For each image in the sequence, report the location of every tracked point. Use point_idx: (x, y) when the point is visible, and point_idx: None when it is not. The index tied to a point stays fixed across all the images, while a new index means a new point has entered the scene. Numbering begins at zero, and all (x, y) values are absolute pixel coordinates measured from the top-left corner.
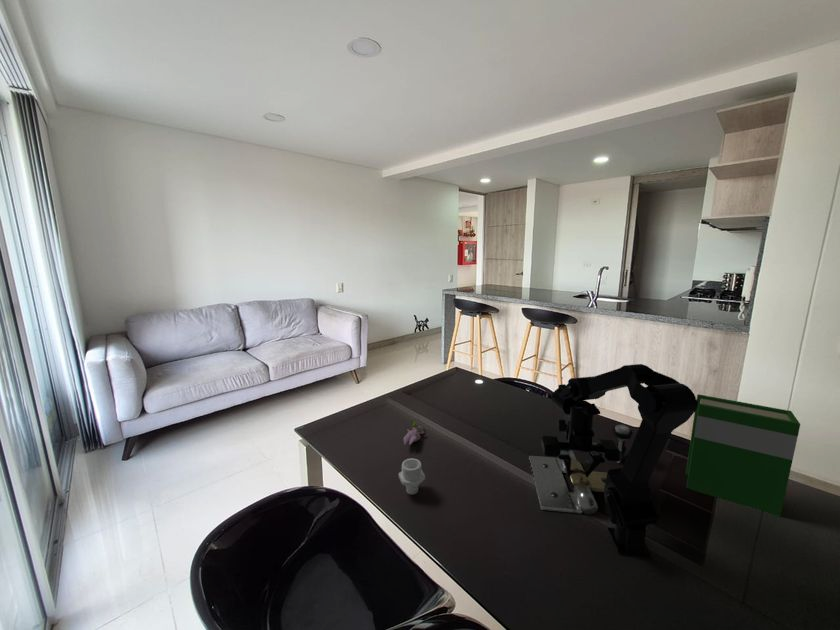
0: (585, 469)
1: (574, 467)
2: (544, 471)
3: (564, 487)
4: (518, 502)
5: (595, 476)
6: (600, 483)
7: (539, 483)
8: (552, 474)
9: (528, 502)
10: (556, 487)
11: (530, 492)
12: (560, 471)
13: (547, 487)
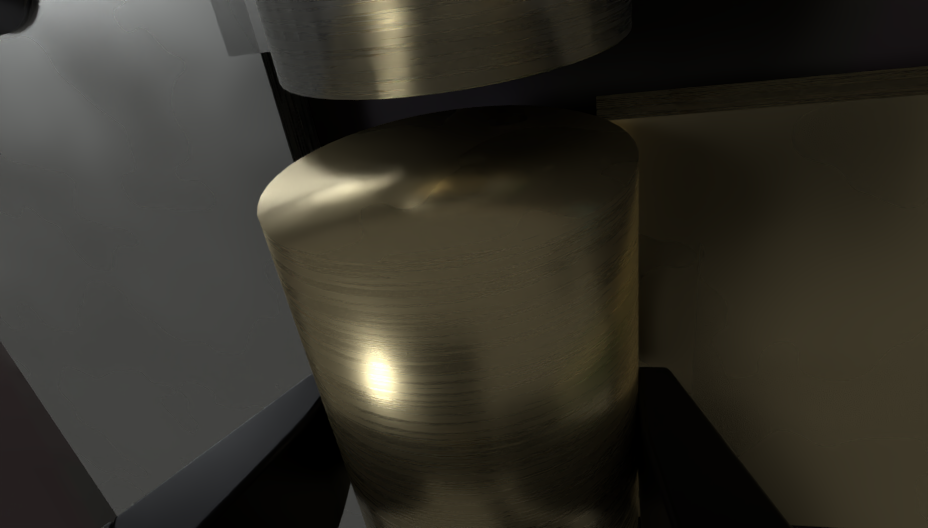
0: (653, 505)
1: (393, 503)
2: (30, 151)
3: None
4: (29, 521)
5: (903, 275)
6: (889, 444)
7: (68, 391)
8: (154, 206)
9: (90, 519)
10: None
11: (59, 431)
12: (256, 96)
13: (162, 438)
